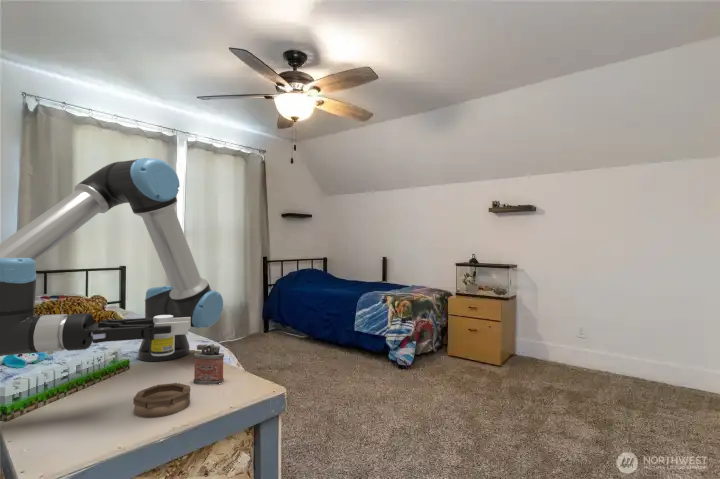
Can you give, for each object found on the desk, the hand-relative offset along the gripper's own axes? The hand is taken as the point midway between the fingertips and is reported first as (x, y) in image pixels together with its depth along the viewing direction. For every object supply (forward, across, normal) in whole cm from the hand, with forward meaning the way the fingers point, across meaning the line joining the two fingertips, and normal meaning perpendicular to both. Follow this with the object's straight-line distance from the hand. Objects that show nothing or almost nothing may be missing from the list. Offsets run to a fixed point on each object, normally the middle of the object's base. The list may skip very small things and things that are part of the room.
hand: (189, 325), depth 85 cm
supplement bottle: (-5, 0, -6) cm, 8 cm away
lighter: (+4, -13, -18) cm, 23 cm away
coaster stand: (-5, 0, -18) cm, 19 cm away
